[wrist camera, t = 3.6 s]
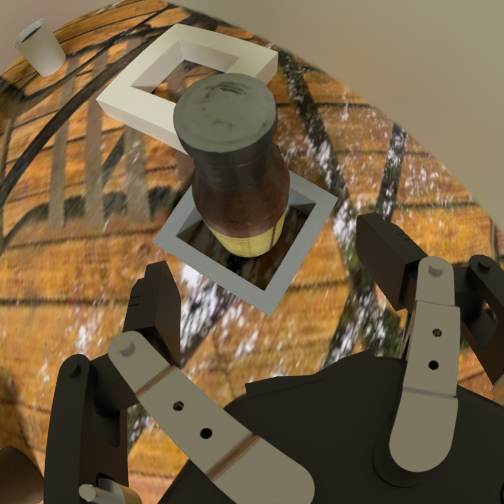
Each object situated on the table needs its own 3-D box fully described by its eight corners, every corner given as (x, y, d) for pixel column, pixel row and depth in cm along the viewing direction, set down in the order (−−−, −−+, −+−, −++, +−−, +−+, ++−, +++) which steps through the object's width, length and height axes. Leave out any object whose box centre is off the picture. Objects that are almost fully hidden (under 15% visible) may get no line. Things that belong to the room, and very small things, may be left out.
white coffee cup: (74, 49, 37) (52, 14, 27) (56, 75, 35) (30, 40, 26) (50, 55, 37) (27, 24, 27) (33, 81, 36) (7, 50, 26)
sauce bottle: (252, 188, 30) (245, 31, 11) (293, 232, 30) (351, 106, 10) (202, 228, 30) (123, 105, 10) (243, 276, 29) (215, 209, 9)
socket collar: (108, 116, 33) (95, 99, 29) (181, 42, 35) (176, 23, 31) (204, 163, 31) (197, 144, 27) (276, 73, 34) (278, 52, 30)
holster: (165, 250, 29) (152, 242, 25) (229, 157, 31) (226, 137, 27) (268, 315, 28) (270, 316, 24) (328, 211, 30) (338, 198, 26)
